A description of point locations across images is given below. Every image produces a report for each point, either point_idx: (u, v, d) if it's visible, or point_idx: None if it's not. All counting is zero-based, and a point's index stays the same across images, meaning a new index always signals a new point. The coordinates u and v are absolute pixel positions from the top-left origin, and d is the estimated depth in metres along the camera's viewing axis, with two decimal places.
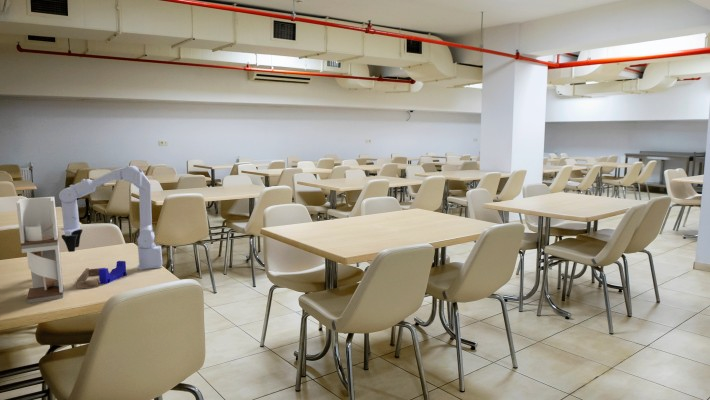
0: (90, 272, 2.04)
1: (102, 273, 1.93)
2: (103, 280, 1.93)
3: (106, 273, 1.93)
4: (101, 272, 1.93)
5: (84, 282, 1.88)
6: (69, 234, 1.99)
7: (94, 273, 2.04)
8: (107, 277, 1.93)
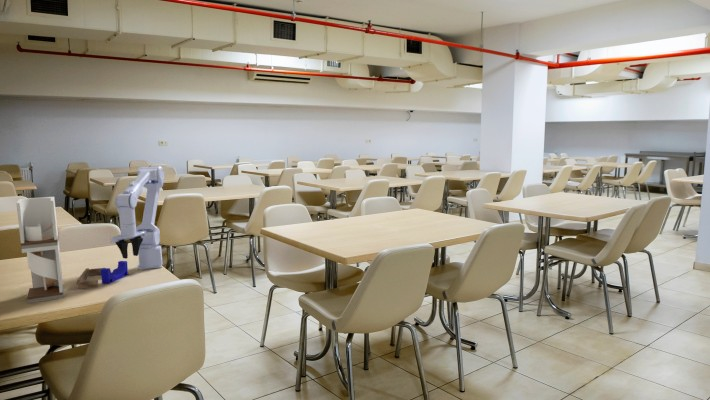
0: (90, 272, 2.04)
1: (104, 273, 1.93)
2: (105, 280, 1.93)
3: (108, 273, 1.93)
4: (103, 272, 1.93)
5: (84, 282, 1.88)
6: (112, 241, 1.93)
7: (94, 273, 2.04)
8: (109, 277, 1.93)
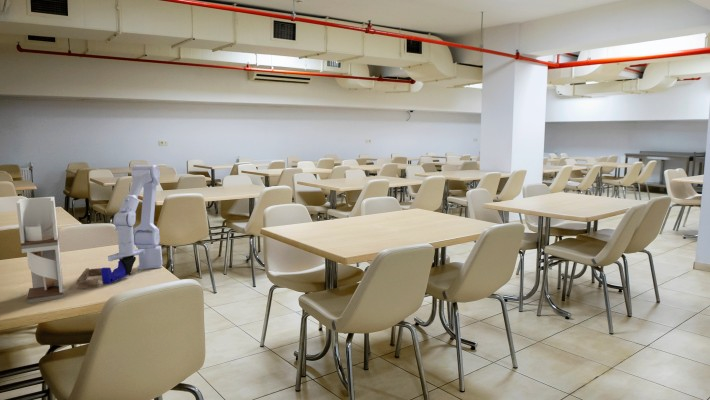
0: (90, 272, 2.04)
1: (104, 273, 1.93)
2: (106, 280, 1.93)
3: (109, 272, 1.93)
4: (104, 272, 1.93)
5: (84, 282, 1.88)
6: (110, 260, 1.94)
7: (94, 273, 2.04)
8: (110, 276, 1.93)
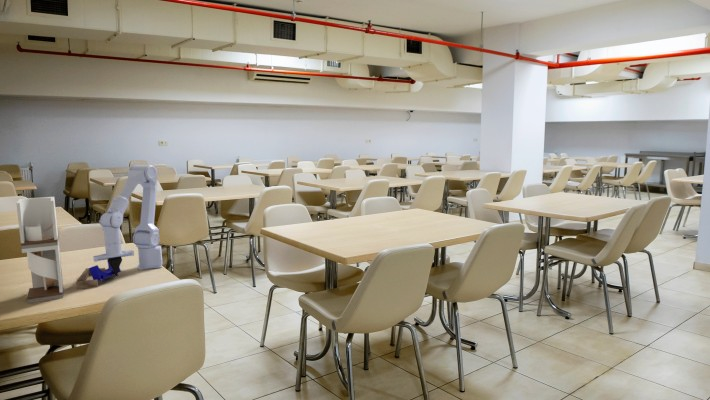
0: None
1: (93, 271, 1.93)
2: (96, 277, 1.93)
3: (97, 270, 1.93)
4: (92, 270, 1.93)
5: (84, 282, 1.88)
6: (94, 260, 1.93)
7: None
8: (99, 273, 1.93)
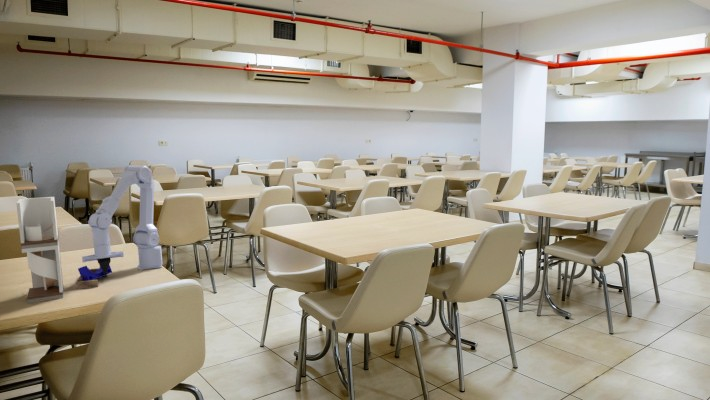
0: None
1: (82, 271, 1.92)
2: (85, 278, 1.92)
3: (86, 270, 1.92)
4: (81, 271, 1.92)
5: (84, 282, 1.88)
6: None
7: None
8: (88, 274, 1.92)
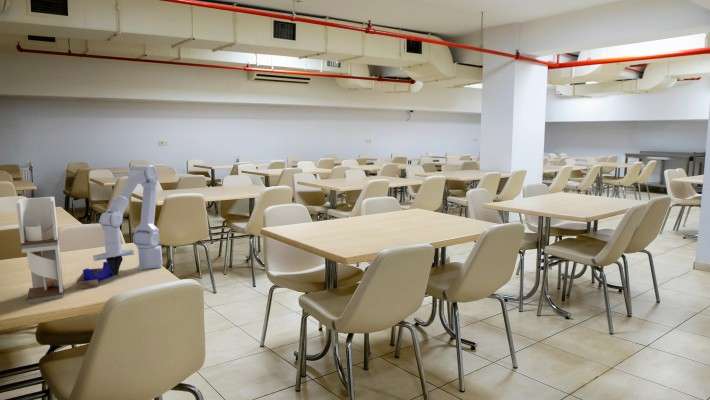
0: None
1: (86, 274, 1.92)
2: None
3: (90, 274, 1.92)
4: (85, 273, 1.92)
5: (84, 282, 1.88)
6: (94, 259, 1.93)
7: (94, 273, 2.04)
8: (91, 278, 1.92)
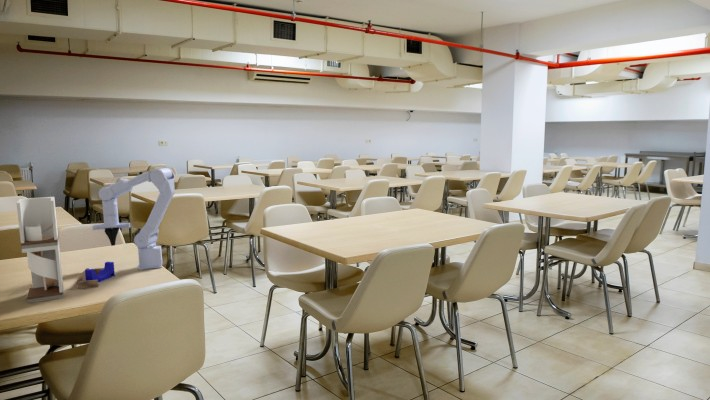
0: None
1: (88, 274, 1.92)
2: None
3: (92, 274, 1.92)
4: (87, 273, 1.92)
5: (84, 282, 1.88)
6: None
7: None
8: (93, 278, 1.92)
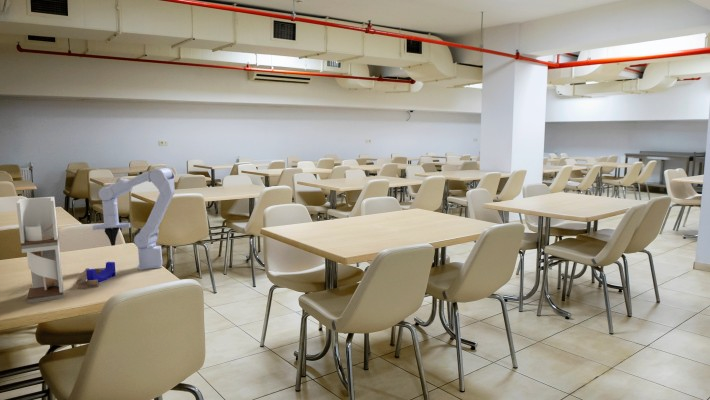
0: None
1: (89, 274, 1.92)
2: None
3: (94, 274, 1.92)
4: (89, 273, 1.92)
5: (84, 282, 1.88)
6: None
7: None
8: (95, 278, 1.92)
